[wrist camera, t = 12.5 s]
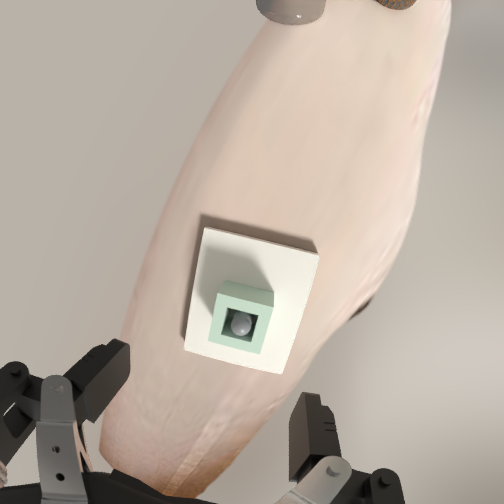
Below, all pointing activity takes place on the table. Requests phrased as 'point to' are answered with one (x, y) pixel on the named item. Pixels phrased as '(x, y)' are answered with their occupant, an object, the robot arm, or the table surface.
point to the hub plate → (256, 275)
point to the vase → (397, 4)
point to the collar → (244, 301)
